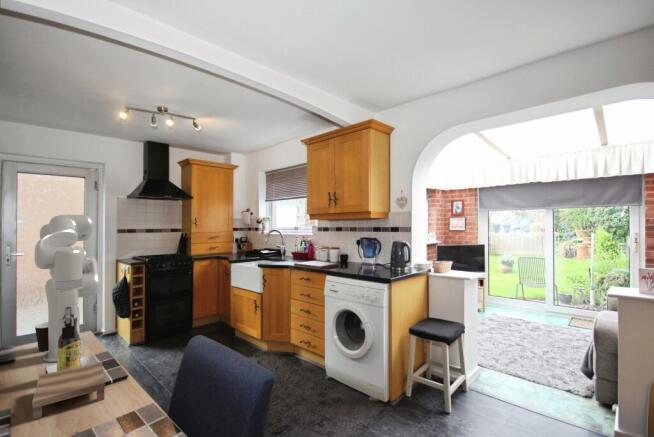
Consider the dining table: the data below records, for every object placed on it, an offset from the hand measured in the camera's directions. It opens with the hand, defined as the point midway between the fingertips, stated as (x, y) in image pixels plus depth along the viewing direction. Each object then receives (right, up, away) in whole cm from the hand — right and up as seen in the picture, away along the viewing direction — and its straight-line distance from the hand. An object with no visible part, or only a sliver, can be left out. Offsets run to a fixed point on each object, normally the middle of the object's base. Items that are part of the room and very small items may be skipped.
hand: (68, 334), depth 109 cm
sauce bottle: (0, -15, 0) cm, 14 cm away
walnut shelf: (+11, -14, -12) cm, 21 cm away
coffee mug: (-26, -15, +24) cm, 38 cm away
